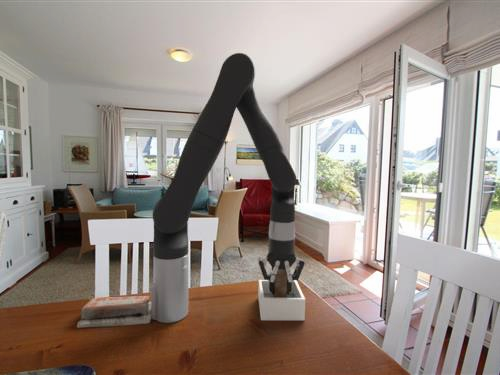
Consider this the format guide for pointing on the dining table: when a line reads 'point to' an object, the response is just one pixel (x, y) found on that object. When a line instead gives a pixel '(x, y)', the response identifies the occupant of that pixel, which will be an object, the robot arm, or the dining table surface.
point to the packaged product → (116, 311)
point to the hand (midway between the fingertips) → (280, 292)
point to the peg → (280, 284)
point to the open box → (281, 303)
